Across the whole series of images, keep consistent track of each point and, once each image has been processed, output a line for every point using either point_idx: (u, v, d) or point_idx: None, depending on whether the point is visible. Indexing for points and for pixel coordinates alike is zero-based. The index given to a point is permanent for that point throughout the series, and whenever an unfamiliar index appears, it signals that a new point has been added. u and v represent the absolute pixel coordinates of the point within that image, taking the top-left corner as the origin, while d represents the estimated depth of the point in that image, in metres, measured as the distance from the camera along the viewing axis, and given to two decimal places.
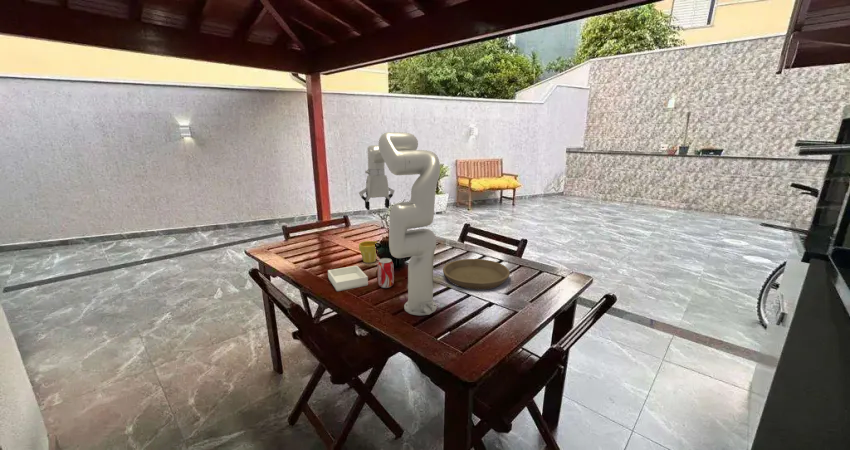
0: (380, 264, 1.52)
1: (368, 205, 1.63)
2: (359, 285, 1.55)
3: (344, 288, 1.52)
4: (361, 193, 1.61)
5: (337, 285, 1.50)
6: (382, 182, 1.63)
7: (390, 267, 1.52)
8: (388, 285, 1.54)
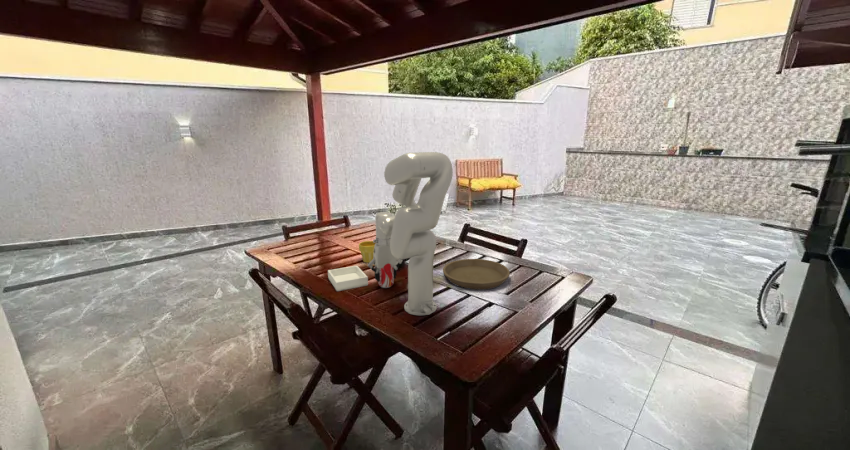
0: None
1: (378, 277, 1.52)
2: (359, 285, 1.55)
3: (344, 288, 1.52)
4: (370, 265, 1.51)
5: (337, 285, 1.50)
6: (391, 251, 1.51)
7: (390, 267, 1.52)
8: (388, 285, 1.54)
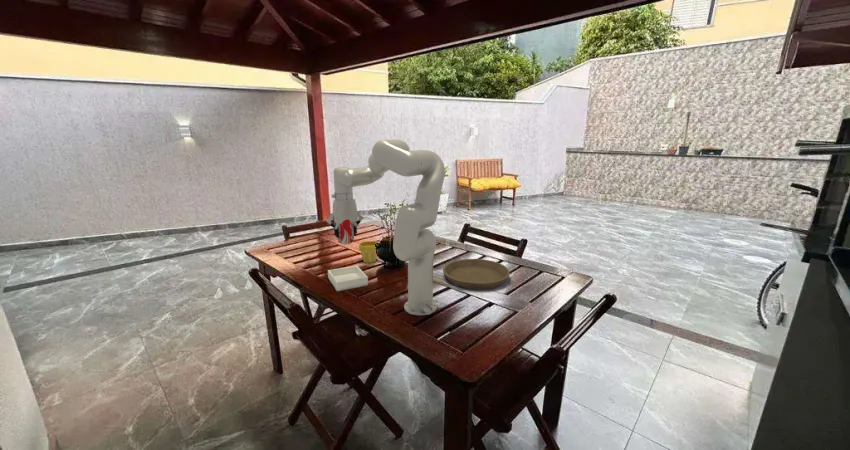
0: None
1: (337, 233, 1.52)
2: (359, 285, 1.55)
3: (344, 288, 1.52)
4: (328, 221, 1.50)
5: (337, 285, 1.50)
6: (350, 207, 1.51)
7: (349, 223, 1.51)
8: (347, 241, 1.53)
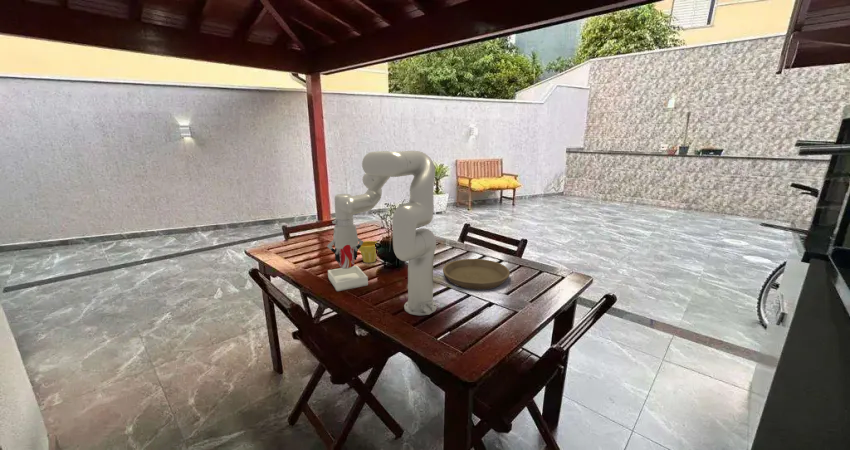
0: None
1: (338, 258, 1.55)
2: (359, 285, 1.55)
3: (344, 288, 1.52)
4: (329, 246, 1.53)
5: (337, 285, 1.50)
6: (350, 232, 1.53)
7: (349, 248, 1.54)
8: (348, 266, 1.56)
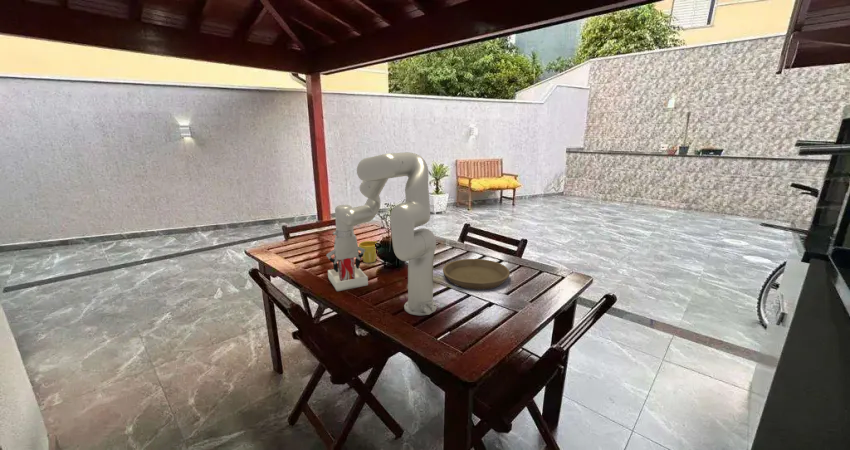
0: None
1: (336, 267, 1.55)
2: (359, 285, 1.55)
3: (344, 288, 1.52)
4: (328, 255, 1.53)
5: (337, 285, 1.50)
6: (351, 243, 1.55)
7: (350, 262, 1.56)
8: (348, 279, 1.57)
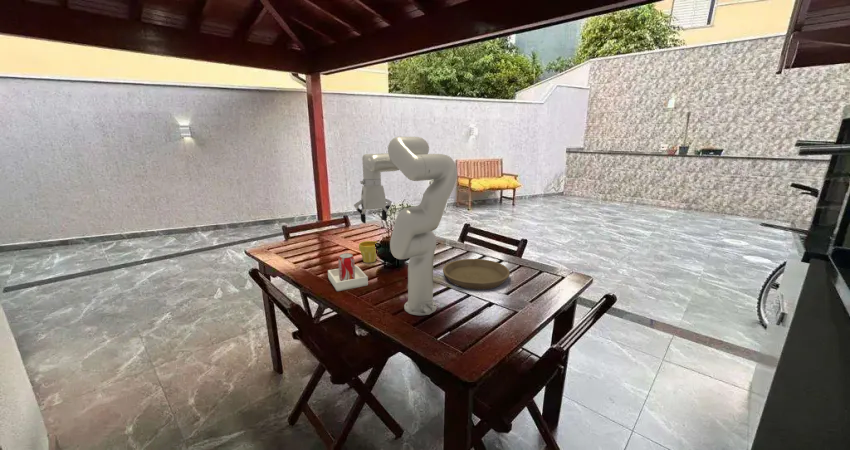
0: (340, 259, 1.55)
1: (364, 218, 1.52)
2: (359, 285, 1.55)
3: (344, 288, 1.52)
4: (356, 205, 1.50)
5: (337, 285, 1.50)
6: (379, 193, 1.52)
7: (350, 262, 1.56)
8: (348, 279, 1.57)
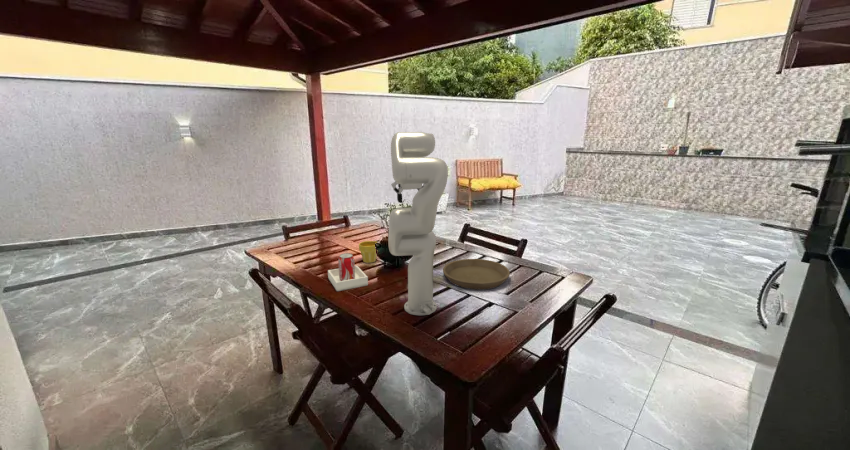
0: (340, 259, 1.55)
1: (401, 197, 1.54)
2: (359, 285, 1.55)
3: (344, 288, 1.52)
4: (394, 185, 1.52)
5: (337, 285, 1.50)
6: None
7: (350, 262, 1.56)
8: (348, 279, 1.57)
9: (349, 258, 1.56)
